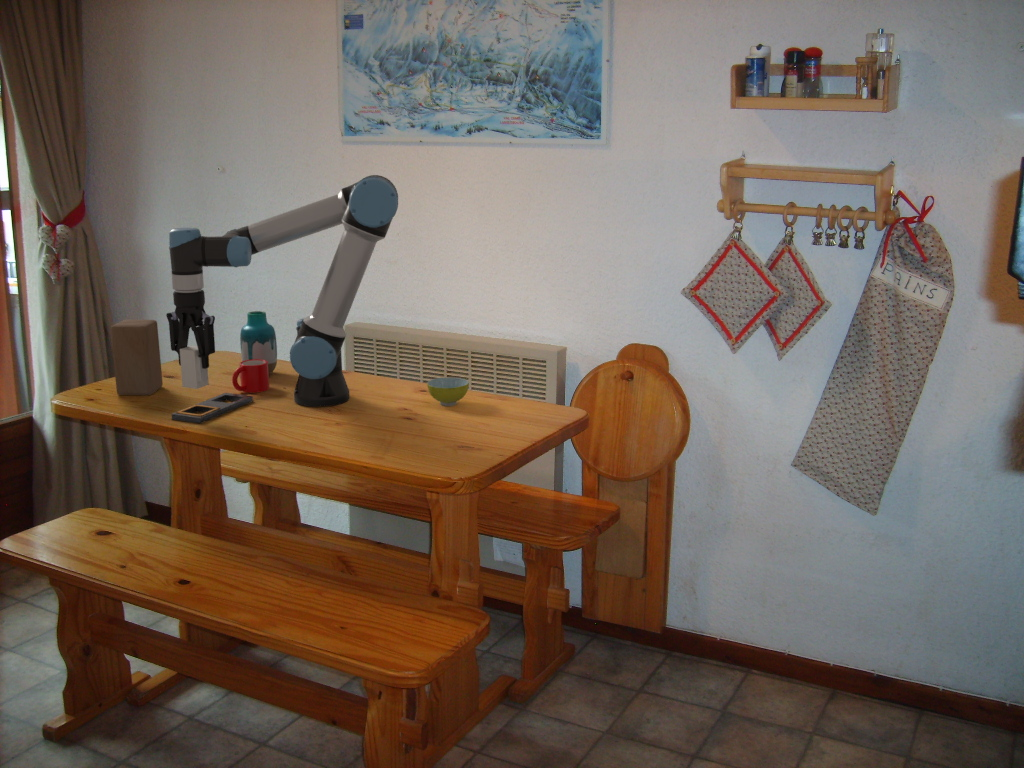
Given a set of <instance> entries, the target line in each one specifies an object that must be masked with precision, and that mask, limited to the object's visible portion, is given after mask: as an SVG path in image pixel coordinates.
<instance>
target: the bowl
mask: <svg viewBox="0 0 1024 768" xmlns="http://www.w3.org/2000/svg"><path fill="white" fill-rule="evenodd" d="M426 385H427V389H428V392H429V394H430V396H431V397H432V398H433V399H434V400H436V401H438V402H439V403H440V404H439V405H441V406H444V407H453V406H456V405H458V401H460V400H461V399H463V398H464V396H466V394H467V393H468V391H469V386H470V381H469V380H467V379H465V378H460V377H438V378H433V379H430V380H428V381H427V383H426Z"/></svg>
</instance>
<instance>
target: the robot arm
mask: <svg viewBox="0 0 1024 768" xmlns="http://www.w3.org/2000/svg"><path fill="white" fill-rule="evenodd" d="M398 207H399V194H398V190H397V188H396V186H395V185H394V183H393V182H392V181H391V180H390V179H389V178H387V177H386V176H383V175H378V174H371V175H367V176H364V177H363V178H361V179H360V180H358V181H357V182H355V183H353V184H351V185H348V186H346V187H343V188H341V189H340V191H339V192H338V193H337V194H334V195H331V196H329V197H326V198H322V199H321V200H320V199H319V200H318V201H317V200H316V201H315V202H314V201H313V202H311V203H308V204H306V205H303V206H300V207H297V208H294V209H291V210H289V211H285V212H283V213H280V214H277V215H273V216H271V217H268V218H265V219H262V220H259V221H257V222H253V223H251V224H249V225H245V226H242V227H239V228H234V229H231V230H229V231H227V232H226V233H225V234H223V235H221V236H204V235H202V234H201V231H200V229H199V228H197V227H176V228H173V229H171V230H170V231H169V232H168V234H169V238H168V239H169V242H168V243H169V244H168V245H169V246H168V249H169V256H170V266H171V286H172V289H173V290H174V291H173V292H172V295H173V296H172V298H173V305H174V306H175V309H174V311H170V312H167V313H166V315H165V317H166V318H167V321H168V328H169V329H168V330H169V342H170V350H171V351H172V352H173V351H174V352H176V353H177V354H178V365H179V366H180V367H181V361H180V349H182V348H185V347H188V345H189V336H190V329H191V331H192V332H193V335H194V338H195V342H196V346H197V347H198V350H199V354H200V355H198V357H197V361H198V375H199V381H200V382H202V381H205V380H207V379H208V380H209V370H207V368H210V359H209V358H210V357H209V356H210V355H213V354H215V353H216V342H215V328H214V327H215V326H214V324H215V320H216V318H215V316H214V315H209V314H207V313H206V311H205V308H204V307H205V305H206V297H205V290H204V288H205V285H204V283H205V282H204V270H203V269H204V267H207V268H208V267H223V268H224V267H230V268H231V267H232V268H239V267H240V268H241V267H248V266H249V265H250V264H251V262H252V255H255V254H258V253H261V252H264V251H267V250H270V249H273V248H276V247H278V246H281V245H284V244H287V243H291V242H294V241H296V240H299V239H302V238H305V237H309V236H310V235H313V234H317V233H319V232H322V231H326V230H328V229H331V228H334V227H336V226H340V225H343V228H344V229H343V232H342V235H341V237H340V240H339V243H338V245H337V247H336V251H335V254H334V256H333V258H332V260H331V263H330V266H329V269H328V271H327V274H326V277H325V279H324V281H323V284H322V287H321V290H320V292H319V294H318V297H317V300H316V303H315V305H314V307H313V310H312V313H311V314H310V315H309V316H306V317H304V318H299V319H298V320H297V321H296V327H295V329H296V331H297V334H296V338H295V340H294V343H293V344H292V345H291V347H290V350H289V361H290V364H291V366H292V368H293V370H294V371H295V372H296V373H297V374H298V378H297V382H296V385H295V388H294V392H293V401H294V403H295V404H297V405H300V406H305V407H317V408H319V407H332V406H337V405H341V404H343V403H346V402H348V401H349V400H350V399H351V398H350V397H351V396H350V389H349V387H348V384H347V380H346V378H345V375H344V373H343V362H342V347H343V345H344V342H345V339H346V337H347V333H346V330H345V329H344V326H345V323H346V321H347V319H348V316H349V313H350V311H351V308H352V305H353V304H354V301H355V299H356V296H357V293H358V291H359V289H360V286H361V282H362V280H363V278H364V275H365V272H366V270H367V268H368V265H369V262H370V260H371V258H372V255H373V253H374V250H375V247H376V244H377V243H378V242H379V241H381V240H384V239H385V238H386V236H387V234H388V231H389V229H390V226H391V223H392V222H393V219H394V217H395V215H396V214H397V210H398Z"/></svg>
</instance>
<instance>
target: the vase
mask: <svg viewBox="0 0 1024 768" xmlns="http://www.w3.org/2000/svg"><path fill="white" fill-rule="evenodd" d="M246 315H247V318H246V319H247V320H246V321H247V322H246V324H245V325H244V326H242V327H241V330H240V335H239V338H240V343H239V344H240V345H239V347H240V357H241V362H242V361H245V360H252V359H261V360H266V361H267V362H268V373H269V374H271V373H273V372H274V371H275V369H276V367H277V363H278V345H277V335H276V330H275V327H274V326H273V325H272V324H270V323H269V322H268V320H267V313H266V311H261V310H254V311H249V312H247V314H246Z"/></svg>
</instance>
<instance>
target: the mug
mask: <svg viewBox="0 0 1024 768" xmlns="http://www.w3.org/2000/svg"><path fill="white" fill-rule="evenodd" d="M269 374H270V373H268V362H267V361H266V360H261V359H252V360H245V361H242V360H241V362H239V367H237V368H236V369H235V370H234V372H233V374H232V378H231V381H232V385H233V387H234V389H235V390H237V391H238V392H242V393H243V392H244V393H263V392H266V391H268V390H269V389H270V376H269ZM239 375H240V376H239ZM239 377H240V378H239ZM238 378H239V379H240V384H239V382H238ZM262 391H263V392H262Z"/></svg>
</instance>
